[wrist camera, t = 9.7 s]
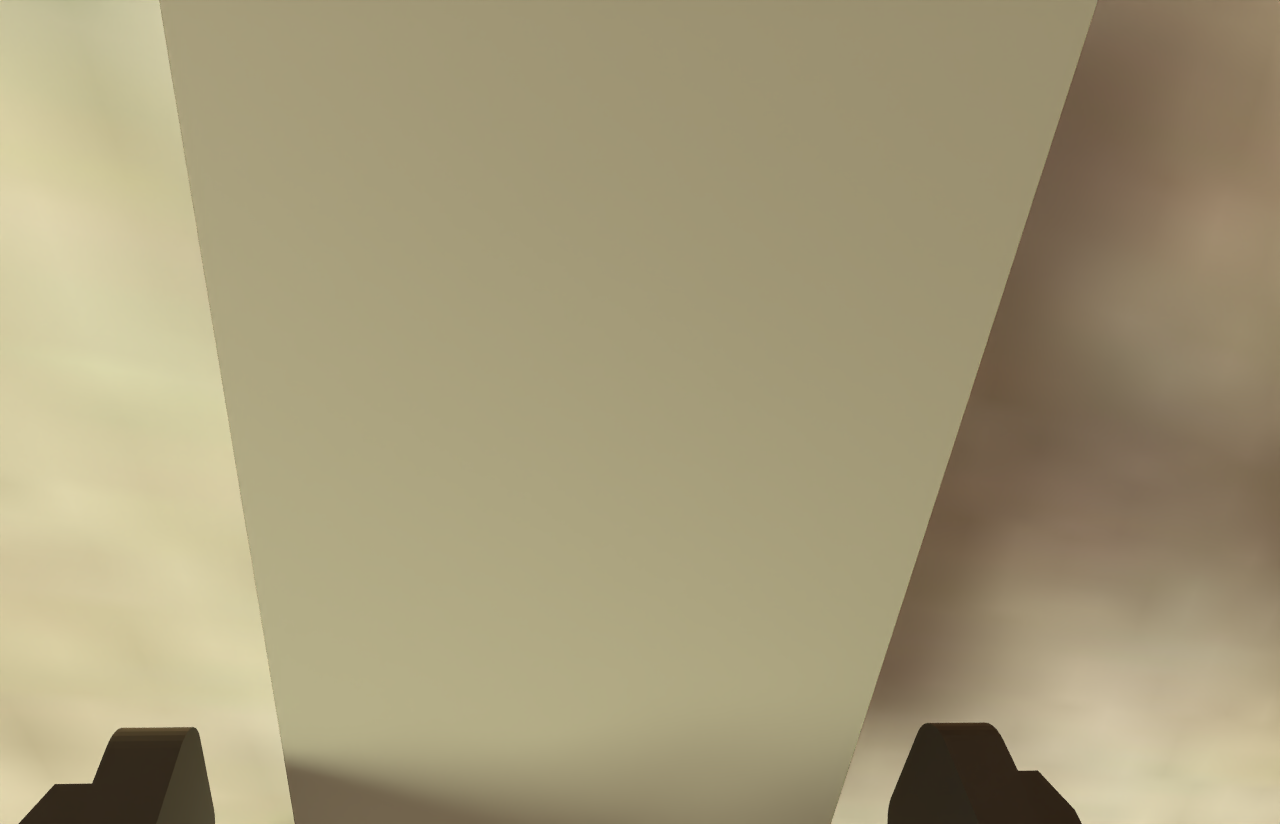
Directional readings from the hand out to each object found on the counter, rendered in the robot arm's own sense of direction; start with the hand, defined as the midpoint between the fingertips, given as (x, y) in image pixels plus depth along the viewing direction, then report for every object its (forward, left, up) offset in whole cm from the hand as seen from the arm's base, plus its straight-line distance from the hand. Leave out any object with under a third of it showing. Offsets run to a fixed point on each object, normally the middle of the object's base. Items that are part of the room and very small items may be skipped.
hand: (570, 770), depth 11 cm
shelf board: (0, 0, -3) cm, 3 cm away
